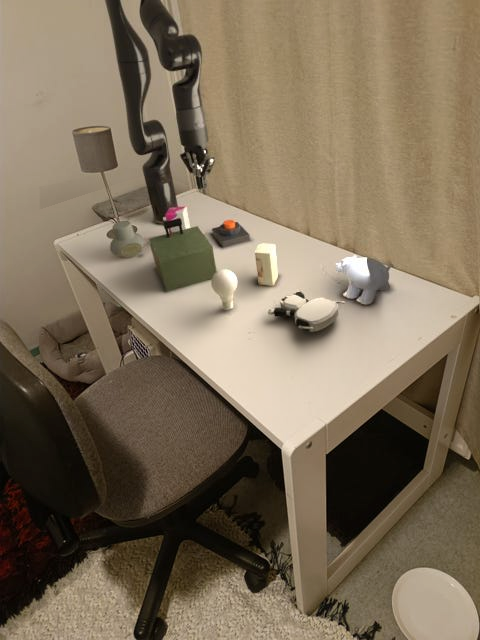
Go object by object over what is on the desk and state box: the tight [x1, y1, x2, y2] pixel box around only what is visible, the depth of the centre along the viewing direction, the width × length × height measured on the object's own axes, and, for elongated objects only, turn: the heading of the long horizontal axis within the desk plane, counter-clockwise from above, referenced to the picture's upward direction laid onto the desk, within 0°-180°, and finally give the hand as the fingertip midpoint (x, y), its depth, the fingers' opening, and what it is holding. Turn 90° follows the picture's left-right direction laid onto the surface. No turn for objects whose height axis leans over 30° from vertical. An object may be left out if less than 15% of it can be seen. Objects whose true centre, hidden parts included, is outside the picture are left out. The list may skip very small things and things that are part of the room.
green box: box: [149, 243, 218, 292], centre depth 125 cm, size 14×15×9 cm
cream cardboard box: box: [254, 242, 279, 287], centre depth 116 cm, size 5×4×10 cm
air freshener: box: [109, 220, 146, 258], centre depth 139 cm, size 11×8×10 cm
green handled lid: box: [148, 218, 214, 263], centre depth 121 cm, size 15×15×5 cm
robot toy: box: [267, 290, 346, 333], centre depth 103 cm, size 12×4×15 cm
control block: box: [211, 221, 251, 249], centre depth 141 cm, size 11×9×4 cm
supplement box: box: [165, 206, 191, 233], centre depth 140 cm, size 6×6×12 cm
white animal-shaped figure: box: [334, 254, 394, 306], centre depth 108 cm, size 11×15×10 cm
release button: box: [222, 219, 236, 229], centre depth 140 cm, size 4×4×2 cm
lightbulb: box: [210, 268, 238, 311], centre depth 108 cm, size 6×6×11 cm
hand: (202, 188), depth 127 cm, fingers closed
